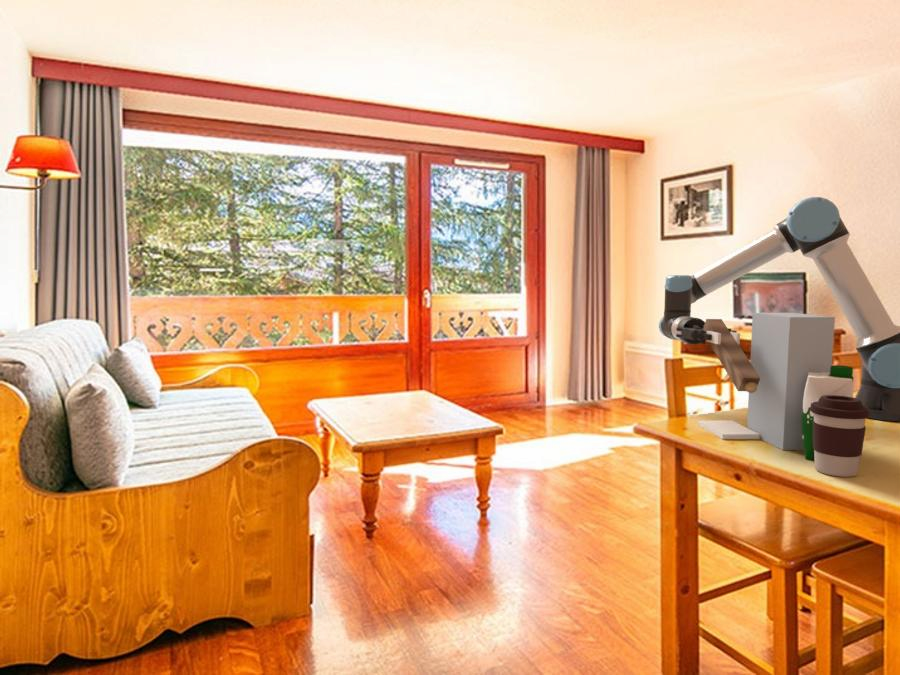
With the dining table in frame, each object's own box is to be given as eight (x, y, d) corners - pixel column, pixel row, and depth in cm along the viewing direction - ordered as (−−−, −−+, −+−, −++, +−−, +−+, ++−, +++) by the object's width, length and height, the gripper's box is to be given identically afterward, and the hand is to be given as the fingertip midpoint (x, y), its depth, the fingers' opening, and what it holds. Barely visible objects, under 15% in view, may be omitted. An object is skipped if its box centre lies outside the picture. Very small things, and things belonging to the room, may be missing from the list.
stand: (826, 449, 138) (834, 317, 135) (782, 450, 137) (790, 317, 134) (786, 431, 153) (792, 312, 150) (746, 432, 153) (752, 312, 150)
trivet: (759, 439, 147) (759, 434, 147) (722, 439, 146) (722, 434, 146) (731, 424, 161) (731, 420, 160) (697, 425, 160) (697, 420, 160)
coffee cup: (808, 475, 120) (812, 400, 119) (805, 461, 129) (809, 391, 127) (868, 483, 115) (874, 405, 114) (862, 468, 124) (867, 396, 123)
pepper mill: (759, 397, 140) (764, 384, 138) (741, 397, 140) (747, 384, 138) (717, 331, 162) (721, 319, 159) (702, 331, 161) (706, 318, 159)
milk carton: (850, 466, 126) (856, 370, 124) (799, 459, 130) (805, 367, 128) (847, 455, 133) (853, 364, 131) (799, 449, 138) (805, 361, 136)
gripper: (718, 343, 175) (762, 354, 151) (659, 343, 174) (693, 353, 151) (720, 317, 174) (763, 323, 151) (660, 317, 174) (695, 323, 150)
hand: (728, 338), depth 151 cm, fingers closed on pepper mill, 4 cm apart
